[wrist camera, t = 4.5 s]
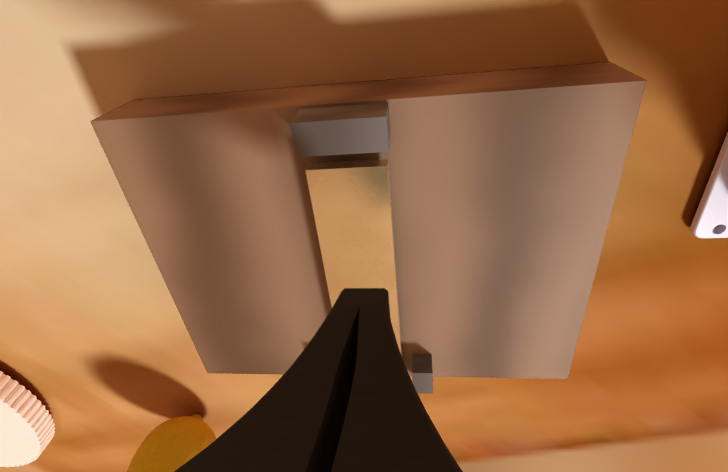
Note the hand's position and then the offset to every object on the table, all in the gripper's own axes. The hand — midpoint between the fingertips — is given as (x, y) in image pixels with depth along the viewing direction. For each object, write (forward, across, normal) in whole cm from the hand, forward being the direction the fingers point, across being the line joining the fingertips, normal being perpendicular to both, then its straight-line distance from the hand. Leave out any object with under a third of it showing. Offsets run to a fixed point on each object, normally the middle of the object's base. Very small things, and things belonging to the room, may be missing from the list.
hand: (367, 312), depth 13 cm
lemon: (+9, +16, +19) cm, 26 cm away
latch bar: (+5, +1, +3) cm, 6 cm away
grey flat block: (+8, +1, +3) cm, 9 cm away
